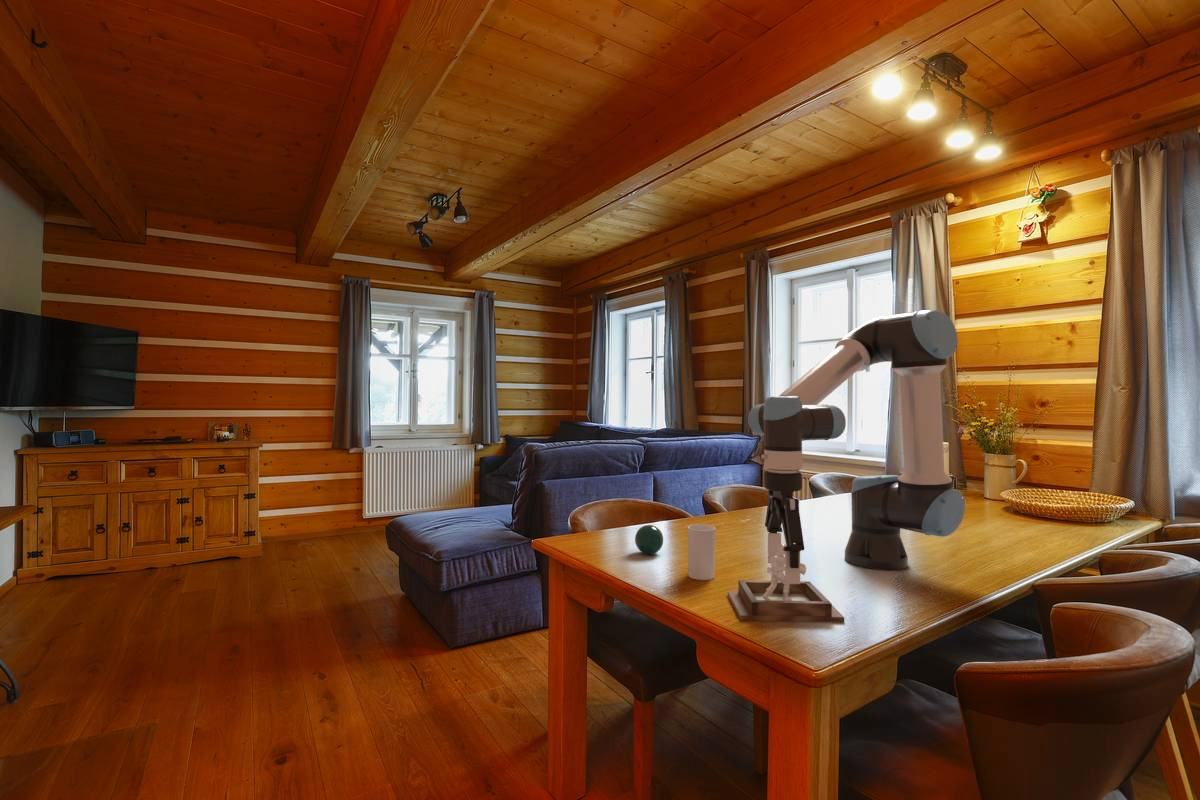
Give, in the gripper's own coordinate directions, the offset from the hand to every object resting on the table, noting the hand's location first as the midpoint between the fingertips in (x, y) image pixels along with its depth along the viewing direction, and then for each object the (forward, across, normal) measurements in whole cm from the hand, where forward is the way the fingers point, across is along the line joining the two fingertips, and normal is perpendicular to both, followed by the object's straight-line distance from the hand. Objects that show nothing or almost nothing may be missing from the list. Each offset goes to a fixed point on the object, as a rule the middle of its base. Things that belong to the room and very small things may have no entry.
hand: (783, 572), depth 118 cm
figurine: (+6, 0, 0) cm, 6 cm away
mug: (+8, -22, -14) cm, 27 cm away
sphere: (+8, -40, -26) cm, 48 cm away
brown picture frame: (+7, 0, 0) cm, 7 cm away
